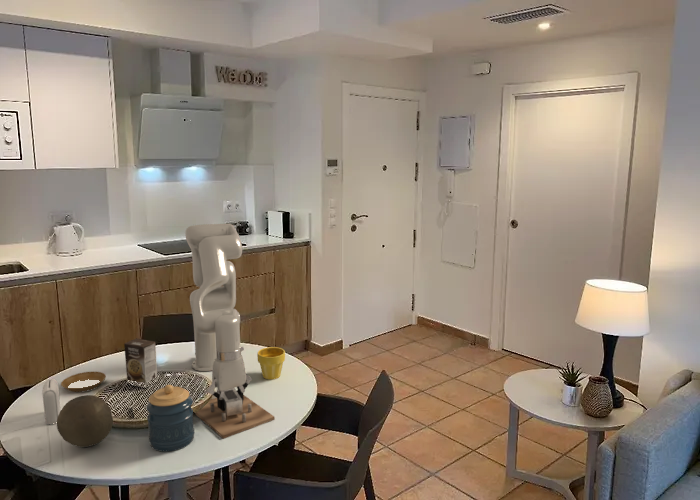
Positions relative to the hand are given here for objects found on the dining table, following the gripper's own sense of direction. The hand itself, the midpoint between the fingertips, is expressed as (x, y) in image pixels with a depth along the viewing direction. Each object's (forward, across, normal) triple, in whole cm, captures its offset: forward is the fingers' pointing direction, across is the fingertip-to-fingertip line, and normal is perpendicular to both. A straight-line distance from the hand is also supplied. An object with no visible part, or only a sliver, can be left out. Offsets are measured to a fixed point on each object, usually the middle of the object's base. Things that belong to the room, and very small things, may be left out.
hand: (230, 405), depth 175 cm
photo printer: (+3, +45, -35) cm, 57 cm away
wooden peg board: (+3, 0, 0) cm, 3 cm away
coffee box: (+3, +14, -42) cm, 44 cm away
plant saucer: (+4, +31, -54) cm, 62 cm away
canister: (+3, +21, +3) cm, 21 cm away
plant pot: (+3, -26, -17) cm, 31 cm away
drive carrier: (+1, 0, 0) cm, 1 cm away
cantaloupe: (+3, +41, -10) cm, 42 cm away
